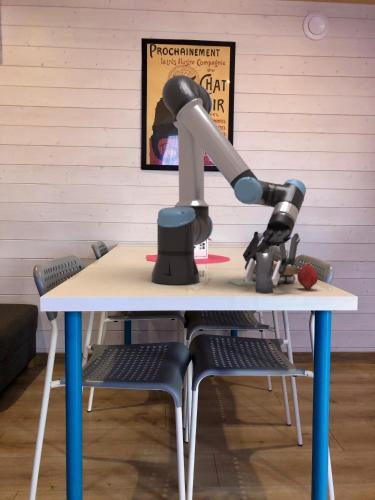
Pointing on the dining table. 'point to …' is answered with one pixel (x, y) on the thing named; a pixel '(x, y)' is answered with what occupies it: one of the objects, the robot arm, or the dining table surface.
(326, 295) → the dining table surface
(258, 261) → the steel roller
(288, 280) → the roller track
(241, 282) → the stop pad
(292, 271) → the slab
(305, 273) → the red strawberry
